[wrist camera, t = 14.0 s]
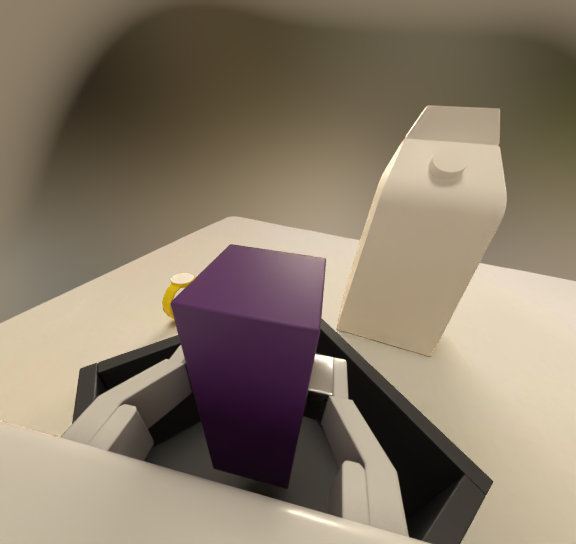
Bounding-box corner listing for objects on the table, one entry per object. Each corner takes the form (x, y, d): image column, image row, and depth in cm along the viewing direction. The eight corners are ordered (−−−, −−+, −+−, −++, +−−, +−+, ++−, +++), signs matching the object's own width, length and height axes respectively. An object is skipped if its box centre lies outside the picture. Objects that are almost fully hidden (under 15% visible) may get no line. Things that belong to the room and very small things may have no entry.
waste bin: (161, 891, 8) (-98, 1592, 2) (135, 452, 18) (79, 368, 12) (404, 539, 15) (493, 481, 9) (287, 370, 25) (296, 293, 19)
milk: (416, 303, 38) (506, 118, 24) (430, 356, 28) (589, 100, 15) (345, 286, 41) (390, 112, 27) (336, 329, 31) (397, 94, 18)
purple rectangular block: (288, 490, 10) (320, 330, 5) (212, 469, 10) (168, 302, 5) (299, 408, 13) (326, 257, 8) (240, 394, 13) (230, 243, 8)
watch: (178, 330, 29) (168, 293, 26) (163, 322, 30) (152, 286, 27) (211, 305, 33) (206, 271, 30) (197, 298, 34) (192, 265, 31)
